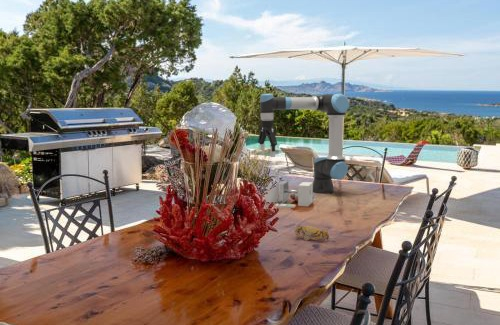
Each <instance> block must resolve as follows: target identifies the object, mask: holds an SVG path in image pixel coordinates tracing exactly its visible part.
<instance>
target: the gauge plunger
mask: <svg viewBox="0 0 500 325" xmlns="http://www.w3.org/2000/svg"><path fill="white" fill-rule="evenodd" d="M289 194H298V189H289V181H288V180H284V181H283V182H281V183H279V201H278V202H277V203H278V204H286V202H288V200H289Z"/></svg>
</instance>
